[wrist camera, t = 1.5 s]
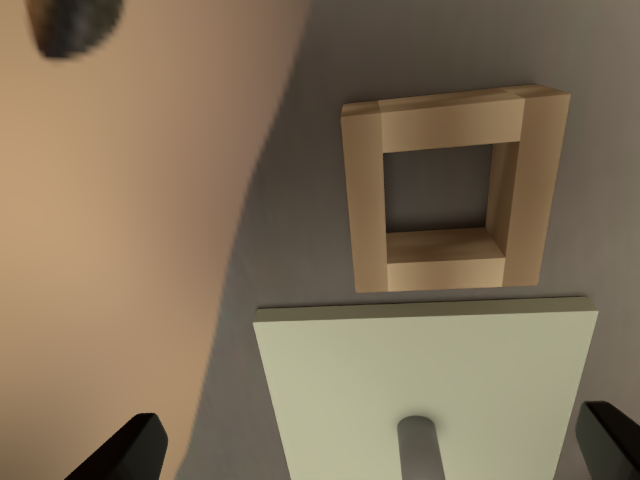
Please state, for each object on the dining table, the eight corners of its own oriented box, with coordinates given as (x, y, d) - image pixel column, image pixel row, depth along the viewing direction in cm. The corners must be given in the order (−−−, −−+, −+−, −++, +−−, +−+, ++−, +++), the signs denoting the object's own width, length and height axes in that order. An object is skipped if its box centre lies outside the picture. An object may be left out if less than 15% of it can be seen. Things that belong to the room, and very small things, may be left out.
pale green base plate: (586, 296, 21) (648, 368, 16) (537, 494, 29) (569, 576, 24) (257, 308, 23) (233, 374, 18) (299, 488, 31) (289, 563, 27)
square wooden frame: (536, 83, 16) (571, 93, 13) (513, 251, 20) (537, 285, 17) (343, 104, 17) (340, 116, 14) (356, 259, 21) (355, 292, 18)
